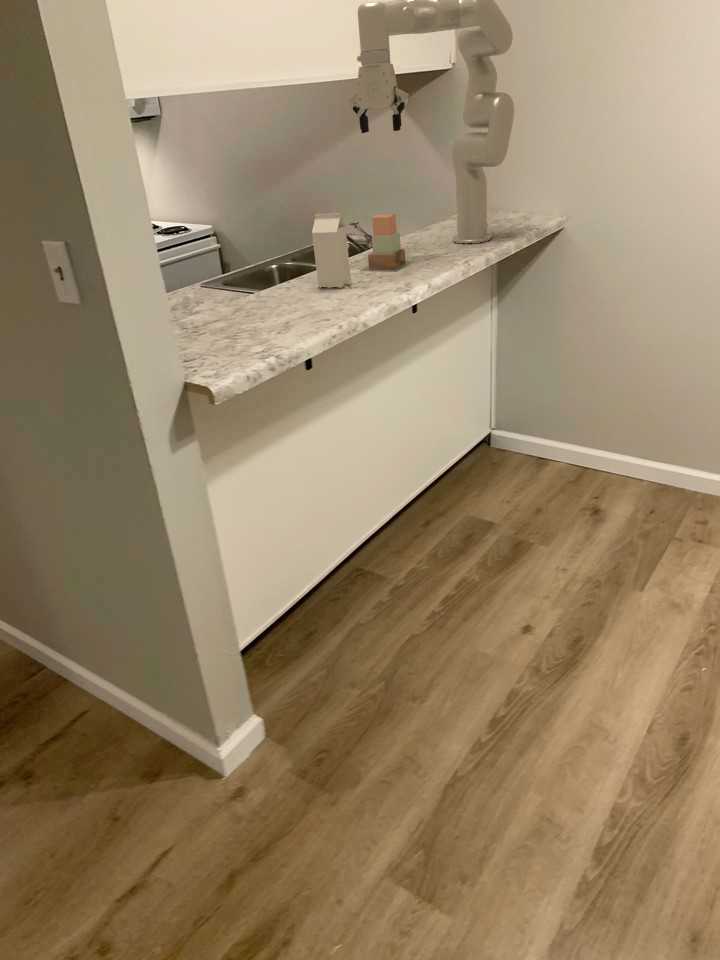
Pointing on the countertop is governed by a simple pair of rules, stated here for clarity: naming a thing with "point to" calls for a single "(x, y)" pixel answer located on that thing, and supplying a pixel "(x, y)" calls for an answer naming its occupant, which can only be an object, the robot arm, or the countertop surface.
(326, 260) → the milk carton
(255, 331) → the countertop surface
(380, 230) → the terracotta brick
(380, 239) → the sage brick
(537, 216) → the countertop surface
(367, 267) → the build plate
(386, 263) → the walnut brick
